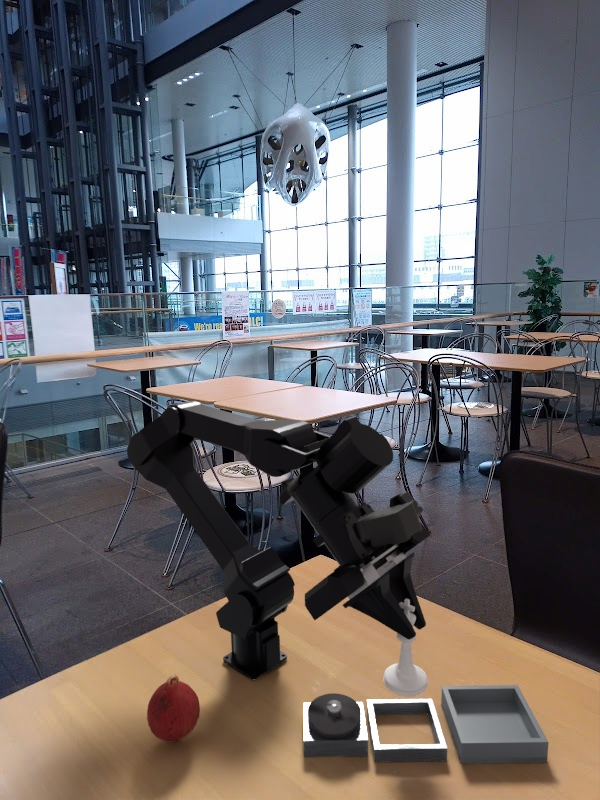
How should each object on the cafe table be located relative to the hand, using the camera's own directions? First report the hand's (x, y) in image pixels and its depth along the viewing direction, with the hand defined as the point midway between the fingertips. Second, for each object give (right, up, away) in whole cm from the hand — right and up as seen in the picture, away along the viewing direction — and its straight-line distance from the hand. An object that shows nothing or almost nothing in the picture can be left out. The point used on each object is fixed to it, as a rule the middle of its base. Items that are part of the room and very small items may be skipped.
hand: (417, 632), depth 65 cm
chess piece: (-1, -7, +2) cm, 7 cm away
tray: (+9, -13, +4) cm, 16 cm away
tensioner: (-5, -13, +3) cm, 14 cm away
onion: (-27, -14, +3) cm, 31 cm away
